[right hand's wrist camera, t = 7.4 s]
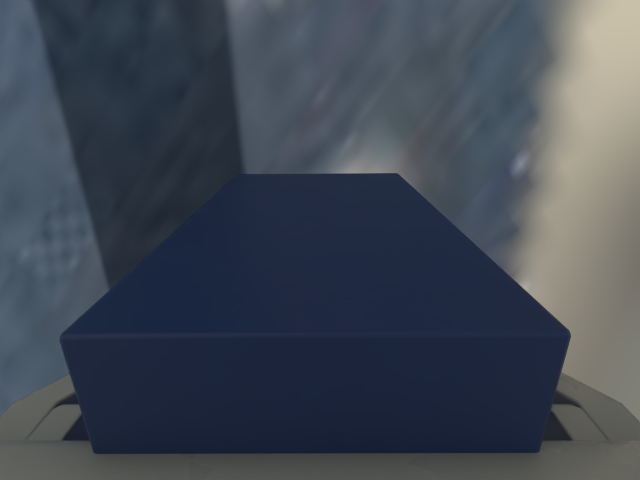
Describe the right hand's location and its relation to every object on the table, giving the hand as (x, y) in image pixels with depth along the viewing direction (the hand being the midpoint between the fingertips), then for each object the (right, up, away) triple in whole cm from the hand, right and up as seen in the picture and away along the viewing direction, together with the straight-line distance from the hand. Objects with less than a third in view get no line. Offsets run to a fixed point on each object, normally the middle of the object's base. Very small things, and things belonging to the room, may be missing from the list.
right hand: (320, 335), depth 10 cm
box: (0, -5, +7) cm, 9 cm away
